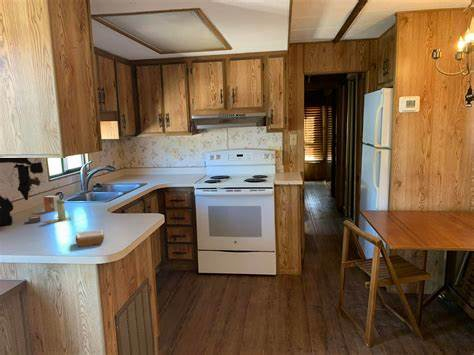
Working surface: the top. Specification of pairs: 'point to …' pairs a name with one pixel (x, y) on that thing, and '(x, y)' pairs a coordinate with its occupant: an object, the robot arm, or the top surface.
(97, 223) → the top surface
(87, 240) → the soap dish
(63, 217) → the ball
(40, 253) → the top surface
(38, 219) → the button housing
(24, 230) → the top surface
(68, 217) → the picture board
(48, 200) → the small box
